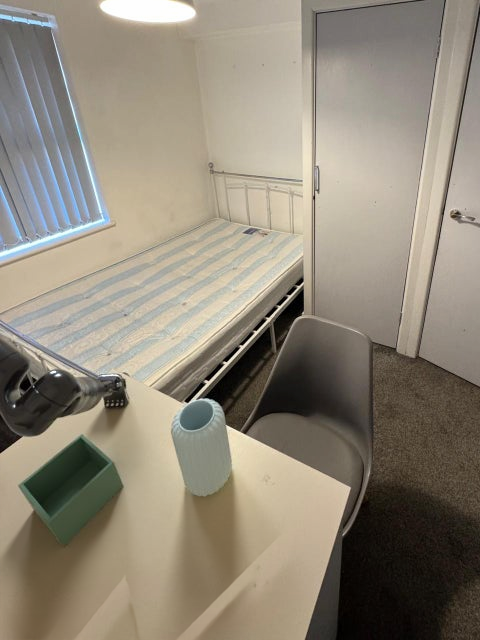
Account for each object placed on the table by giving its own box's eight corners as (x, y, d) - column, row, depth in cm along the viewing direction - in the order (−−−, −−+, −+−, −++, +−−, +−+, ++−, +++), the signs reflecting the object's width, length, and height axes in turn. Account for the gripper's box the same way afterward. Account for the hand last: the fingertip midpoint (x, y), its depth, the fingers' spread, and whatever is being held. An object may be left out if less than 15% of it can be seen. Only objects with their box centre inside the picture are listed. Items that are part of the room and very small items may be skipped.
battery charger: (101, 411, 96) (90, 384, 91) (107, 400, 99) (97, 373, 94) (125, 410, 96) (115, 383, 91) (130, 399, 99) (121, 372, 95)
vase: (178, 472, 80) (161, 412, 71) (219, 442, 87) (209, 384, 77) (197, 514, 72) (180, 452, 63) (241, 478, 79) (232, 417, 69)
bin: (33, 509, 73) (17, 485, 69) (92, 457, 84) (82, 433, 80) (63, 547, 67) (48, 523, 63) (123, 486, 77) (113, 462, 73)
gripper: (113, 367, 74) (128, 368, 88) (39, 387, 69) (68, 385, 84) (116, 402, 72) (131, 397, 86) (40, 425, 67) (69, 416, 81)
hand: (100, 391), depth 85 cm, fingers open, 8 cm apart
